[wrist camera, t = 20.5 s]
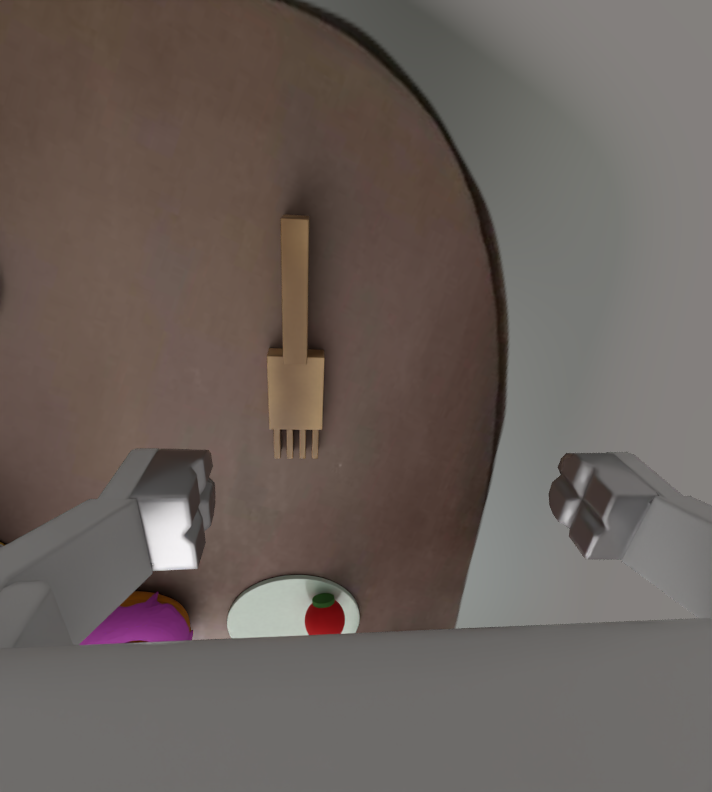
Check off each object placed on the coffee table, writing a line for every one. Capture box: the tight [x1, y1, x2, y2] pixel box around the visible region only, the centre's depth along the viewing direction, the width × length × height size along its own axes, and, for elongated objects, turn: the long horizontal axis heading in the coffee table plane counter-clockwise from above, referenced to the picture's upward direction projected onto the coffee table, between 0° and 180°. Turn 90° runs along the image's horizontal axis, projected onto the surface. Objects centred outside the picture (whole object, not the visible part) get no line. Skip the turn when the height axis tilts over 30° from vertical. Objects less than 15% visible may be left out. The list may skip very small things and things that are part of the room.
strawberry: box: [305, 593, 345, 635], centre depth 41 cm, size 4×4×4 cm
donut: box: [79, 591, 193, 645], centre depth 39 cm, size 10×10×5 cm
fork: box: [267, 214, 324, 459], centre depth 29 cm, size 4×18×3 cm, turn 176°
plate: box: [227, 575, 360, 638], centre depth 44 cm, size 14×14×1 cm
